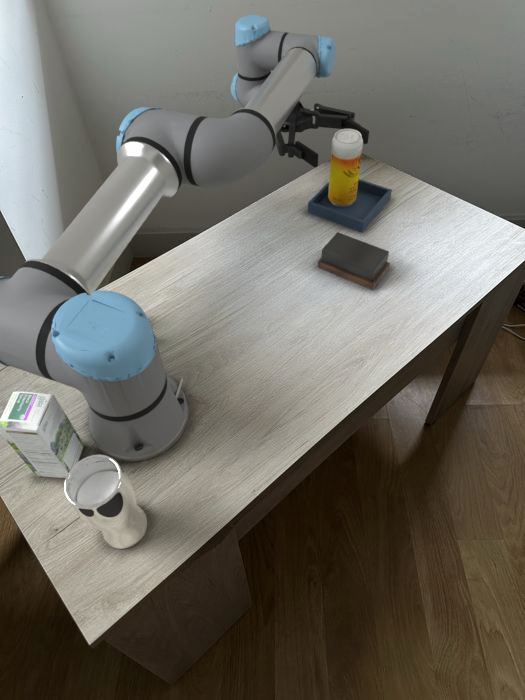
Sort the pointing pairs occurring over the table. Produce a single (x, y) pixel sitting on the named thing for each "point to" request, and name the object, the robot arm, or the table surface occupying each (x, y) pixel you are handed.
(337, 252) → the sharpening stone
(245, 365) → the table surface
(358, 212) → the tray
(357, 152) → the beer can
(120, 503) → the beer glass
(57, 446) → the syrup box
